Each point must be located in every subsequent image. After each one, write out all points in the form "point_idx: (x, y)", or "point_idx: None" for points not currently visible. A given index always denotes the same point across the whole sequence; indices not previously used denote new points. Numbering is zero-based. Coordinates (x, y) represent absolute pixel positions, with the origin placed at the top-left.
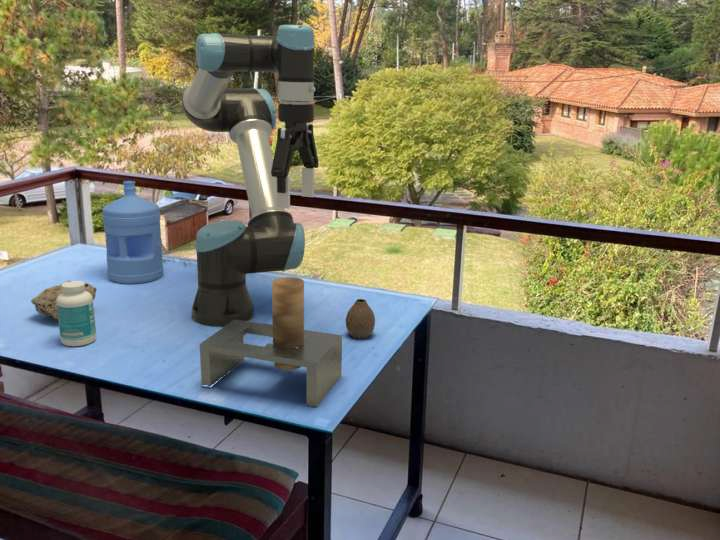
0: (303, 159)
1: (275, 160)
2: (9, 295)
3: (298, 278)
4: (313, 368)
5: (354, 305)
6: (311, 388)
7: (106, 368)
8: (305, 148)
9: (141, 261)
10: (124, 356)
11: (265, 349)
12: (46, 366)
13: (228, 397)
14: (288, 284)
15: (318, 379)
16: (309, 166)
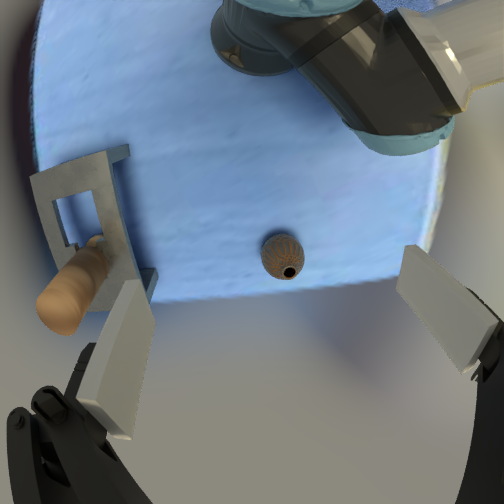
0: (500, 384)
1: (21, 488)
2: None
3: (75, 323)
4: None
5: (280, 263)
6: None
7: (51, 49)
8: (461, 499)
9: None
10: (79, 34)
11: (62, 253)
12: (41, 9)
13: (59, 204)
14: (49, 321)
15: None
16: (486, 356)
